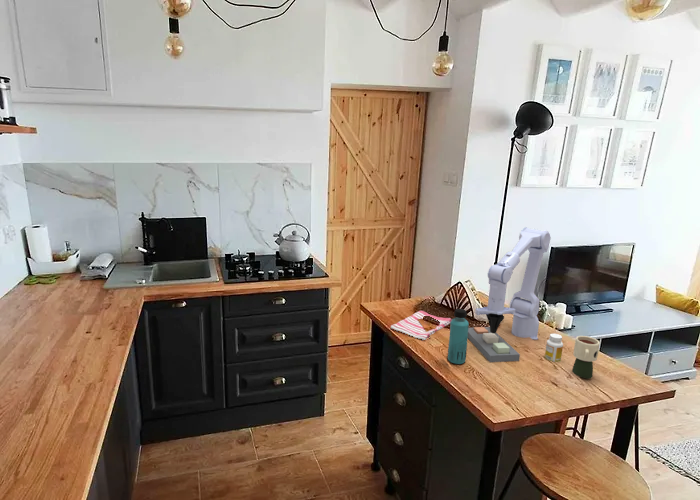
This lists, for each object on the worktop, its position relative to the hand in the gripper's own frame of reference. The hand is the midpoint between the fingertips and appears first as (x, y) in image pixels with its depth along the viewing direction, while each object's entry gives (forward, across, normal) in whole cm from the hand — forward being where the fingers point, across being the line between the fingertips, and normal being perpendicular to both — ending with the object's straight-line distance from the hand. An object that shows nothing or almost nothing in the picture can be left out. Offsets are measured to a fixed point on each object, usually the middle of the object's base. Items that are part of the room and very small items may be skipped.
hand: (492, 332), depth 166 cm
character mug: (+8, +23, -20) cm, 32 cm away
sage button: (+5, 0, -7) cm, 9 cm away
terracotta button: (+6, 0, +10) cm, 12 cm away
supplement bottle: (+8, +19, -9) cm, 23 cm away
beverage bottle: (+8, -17, -9) cm, 20 cm away
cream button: (+5, 0, +2) cm, 5 cm away
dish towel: (+8, -20, +24) cm, 32 cm away
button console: (+8, 0, +2) cm, 8 cm away
